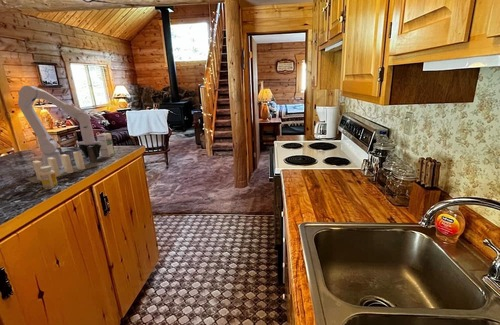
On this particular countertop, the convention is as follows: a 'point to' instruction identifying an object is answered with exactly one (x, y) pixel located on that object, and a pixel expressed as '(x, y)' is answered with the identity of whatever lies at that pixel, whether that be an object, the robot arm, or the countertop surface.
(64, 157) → the domino
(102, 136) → the syrup box
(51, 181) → the supplement bottle
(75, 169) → the mat
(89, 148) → the domino
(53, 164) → the domino
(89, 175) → the countertop surface
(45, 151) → the robot arm
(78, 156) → the domino
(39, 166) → the domino
